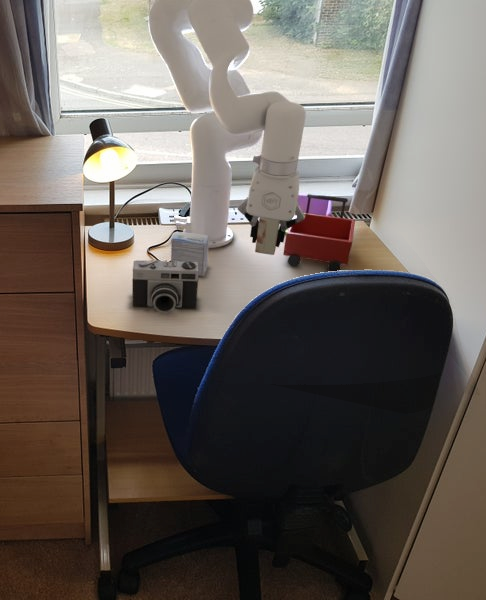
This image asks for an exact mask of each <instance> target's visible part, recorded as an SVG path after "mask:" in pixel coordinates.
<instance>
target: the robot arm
mask: <svg viewBox="0 0 486 600" xmlns="http://www.w3.org/2000/svg"><path fill="white" fill-rule="evenodd" d="M253 19H254V6H253V3H252V1H251V0H154V1H153V3H152V4H151V6H150V8H149V10H148V17H147V21H148V23H147V25H148V31H149V36H150V39H151V41H152V44H153V46H154V48H155V50H156V51H157V53H158V55H159V56H160V57H161V59H162V61H163V62H164V64H165V65H166V67H167V69H168V71H169V72H168V73H169V75H170V77H171V80H172V82H173V84H174V86H175V89H176V92H177V95H178V96H179V99H180V101H181V103H182V105H183V107H184V109H185V110H186V111H187V112H188V113H190V114H201V115H200V116H198V117H196V118H195V119H194V120H193V121H192V123H191V125H190V127H189V140H190V148H191V157H192V159H191V160H192V161H191V162H192V163H191V165H192V167H191V189H190V207H189V208H190V209H189V216H186V217H185V216H184V217H183V216H179V215H174V216H173V224H175V228H182V229H183V231H182V232H185V233H193V234H200V235H207V236H209V248H208V249H214V248H220V247H224V246H226V245H228V244H230V243H231V242H232V240H233V239H234V238H233V237H234V232H233V231H232V230H231V228H229V227H228V224H229V214H230V203H231V202H230V201H231V191H232V178H233V170H232V166H231V164H230V163H229V161H228V159H227V157H226V154H227V153H230V152H234V151H239V150H243V149H248V148H251V147H254V146H256V145H257V144H258V143H259V142H260V141H261V139H262V145H261V151H260V154H259V155H253V158H252V163H256V164H257V166H256V168H255V169H254V172H253V175H252V177H251V182H250V186H249V190H248V196H247V197H246V198H245V199H243V201H242V202H241V203H240V204H239V205H238V206H237V211H238V212H239V213H240V214H242V215H243V216H244V218H245V219H246V220H247V221H248V222H249V225H250V226H251V227H250V228H251V229H250V235H249V237H250V238H252V239H251V243H253V244H256V241H257V233H258V226H259V218H260V217H264V218H270V219H276V220H280V223H279V230H278V234H277V241H276V248H280V245H281V243H285V238H286V234H285V232H286V230H287V229H288V228H290V227H292V226H293V225H295V224H296V223H299V222H301V221H303V220H304V219H305V214H304V213H303V211H302V209H301V207H300V206H299V204H298V194H299V193H300V172H299V170H298V163H299V157H300V151H301V147H302V146H301V145H302V139H303V134H304V128H305V123H306V116H307V111H306V109H305V108H306V107H304V106H303V105H302V104H300V103H297V102H294V101H290V100H289V99H287V97H285V95H284V94H282V93H280V92H278V91H275V90H269V91H268V90H267V91H263V92H255V93H251V90H250V88H249V86H248V84H247V81H246V80H245V77H244V76H243V75H242V73H241V72H240V71H239V70H238V68H240V67H241V66H242V64H243V63H244V62H245V61H246V60H247V59H248V57H249V54H250V45H249V42H248V40H247V39H246V37H245V35H244V34H243V32H245V31H246V30H248V28H249V27H250V26H251V24H252V22H253ZM192 32H194V35H195V36H196V38H197V40H198V42H199V43H200V45H201V47H202V49H203V51H204V53H205V54H206V57H207V59H208V60H209V62H210V64H211V67H209V66H208V64H207V62H206V60H205V59H204V55H203V53H202V51H201V50H200V49H199V47H198V46H197V45H196V44H195V43H194V42H193V41H192V40H191V39H189V38H188V37H186V36H185V35H184V33H192ZM262 136H263V138H262ZM295 214H296V216H295V217H294V215H295Z"/></svg>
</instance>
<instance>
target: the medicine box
mask: <svg viewBox="0 0 486 600" xmlns="http://www.w3.org/2000/svg"><path fill="white" fill-rule="evenodd" d="M170 241H171V243H170V244H171V245H170V248H171V249H170V262H174V261H176V262H177V261H179V262H198V277H205V274H206V271H207V269H208V265H209V264H208V263H209V249H210V248H209V236H207V235H200V234H193V233H185V232H183V231H175V233H174V235H173V236H172V238H171V240H170Z"/></svg>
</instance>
